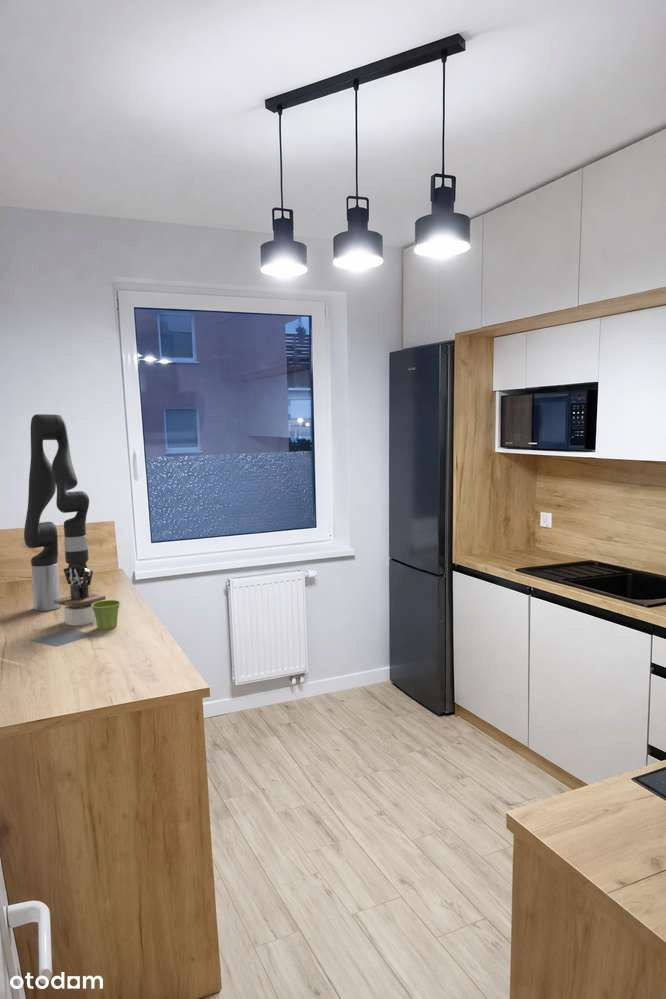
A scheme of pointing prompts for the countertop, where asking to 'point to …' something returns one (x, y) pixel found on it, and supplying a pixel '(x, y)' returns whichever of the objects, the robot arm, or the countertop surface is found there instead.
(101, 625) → the plant pot
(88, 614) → the bowl
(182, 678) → the countertop surface
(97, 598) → the lid
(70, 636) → the mat
